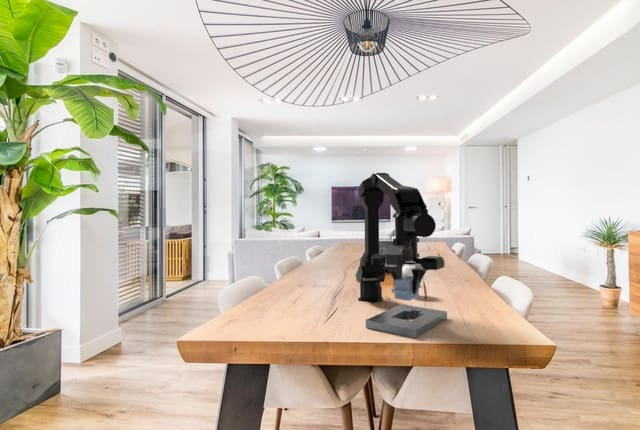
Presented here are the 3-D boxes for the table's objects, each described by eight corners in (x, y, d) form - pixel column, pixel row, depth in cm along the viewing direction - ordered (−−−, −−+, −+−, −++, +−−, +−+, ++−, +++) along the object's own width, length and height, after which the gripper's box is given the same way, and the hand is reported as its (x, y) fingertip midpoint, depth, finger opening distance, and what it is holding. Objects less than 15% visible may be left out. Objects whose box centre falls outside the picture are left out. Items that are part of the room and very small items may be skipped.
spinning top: (425, 295, 131) (425, 261, 131) (411, 298, 126) (411, 263, 126) (408, 291, 137) (408, 259, 137) (394, 294, 132) (394, 261, 132)
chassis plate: (416, 338, 87) (416, 330, 87) (365, 327, 95) (365, 320, 95) (447, 318, 102) (447, 311, 102) (401, 310, 111) (401, 304, 111)
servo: (391, 299, 96) (391, 278, 96) (407, 293, 104) (407, 273, 104) (405, 302, 94) (405, 280, 94) (421, 295, 101) (421, 274, 101)
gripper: (360, 235, 98) (361, 294, 99) (427, 238, 87) (428, 304, 87) (381, 233, 107) (382, 286, 107) (444, 235, 95) (445, 295, 95)
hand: (407, 292), depth 99 cm, fingers closed on servo, 4 cm apart
